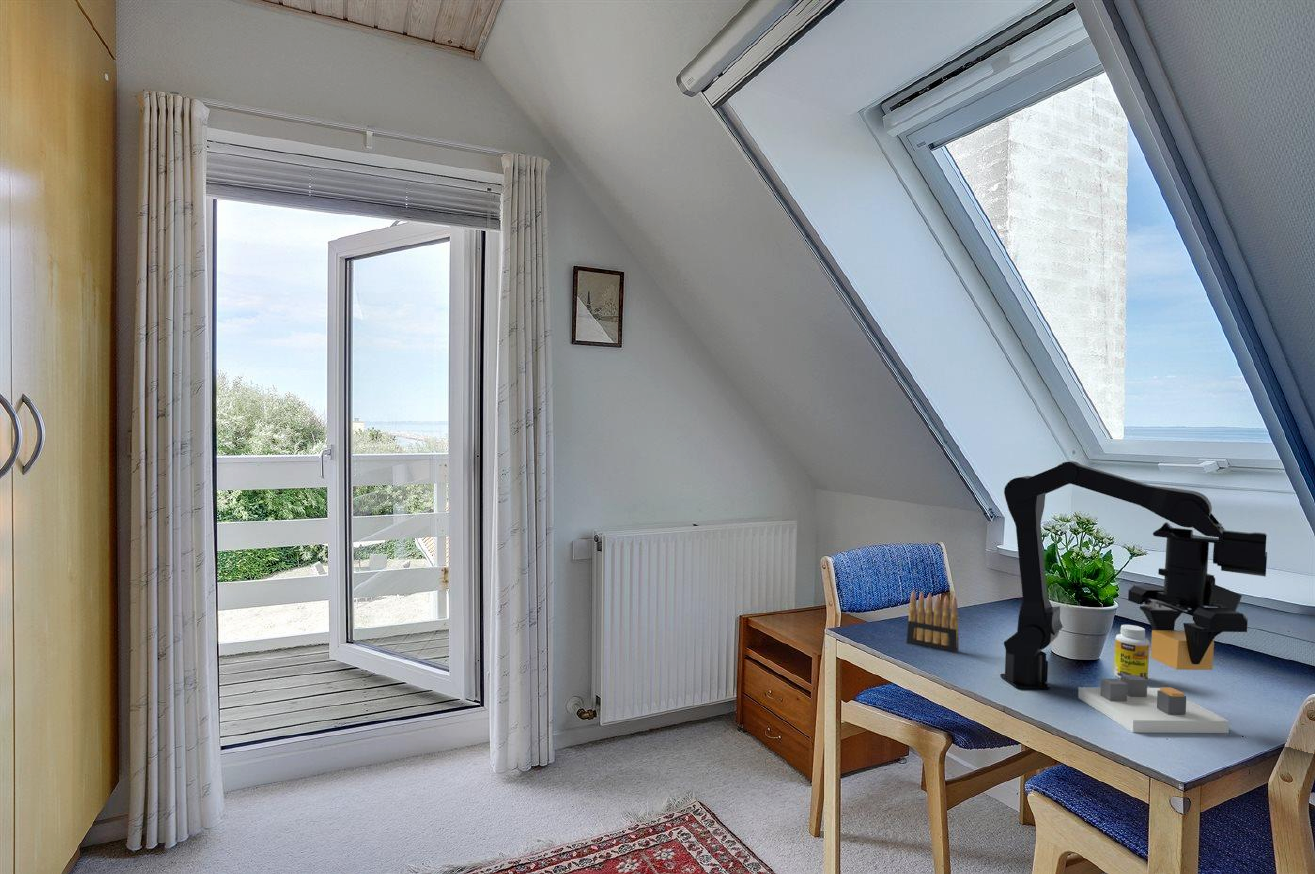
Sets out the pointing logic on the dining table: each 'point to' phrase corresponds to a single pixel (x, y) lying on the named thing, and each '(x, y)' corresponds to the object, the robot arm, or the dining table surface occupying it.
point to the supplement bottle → (1131, 652)
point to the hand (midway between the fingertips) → (1180, 657)
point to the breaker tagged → (1171, 701)
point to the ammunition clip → (933, 624)
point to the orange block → (1177, 651)
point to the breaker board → (1147, 708)
